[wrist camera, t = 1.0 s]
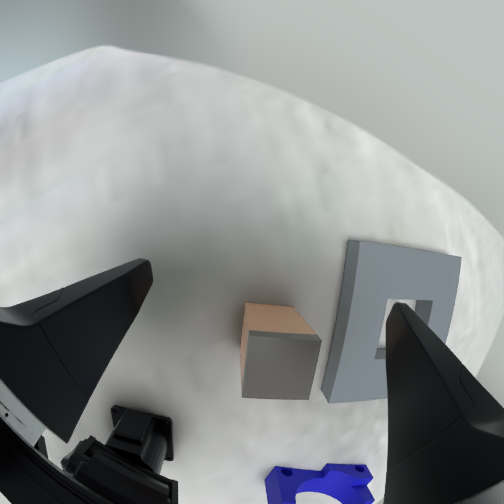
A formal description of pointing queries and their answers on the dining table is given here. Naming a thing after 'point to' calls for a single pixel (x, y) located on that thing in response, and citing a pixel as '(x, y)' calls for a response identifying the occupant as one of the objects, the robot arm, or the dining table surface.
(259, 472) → the dining table surface
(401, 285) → the socket plate
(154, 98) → the dining table surface
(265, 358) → the tan upright block
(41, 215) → the dining table surface
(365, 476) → the cable clip
